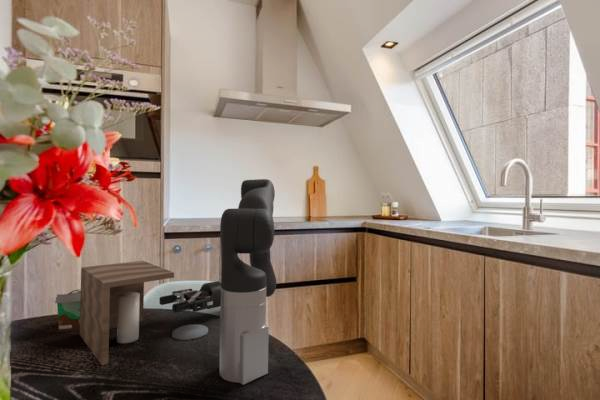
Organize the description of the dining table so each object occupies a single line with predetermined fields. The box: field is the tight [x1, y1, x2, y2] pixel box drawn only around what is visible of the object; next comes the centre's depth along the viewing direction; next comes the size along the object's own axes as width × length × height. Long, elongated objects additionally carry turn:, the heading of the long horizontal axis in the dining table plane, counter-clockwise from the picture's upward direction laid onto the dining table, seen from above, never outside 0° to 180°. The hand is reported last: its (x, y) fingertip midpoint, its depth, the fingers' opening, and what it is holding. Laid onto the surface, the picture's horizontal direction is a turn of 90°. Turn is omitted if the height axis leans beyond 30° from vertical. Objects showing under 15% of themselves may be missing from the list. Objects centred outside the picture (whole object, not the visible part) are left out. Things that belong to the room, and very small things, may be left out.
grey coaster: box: [171, 324, 209, 341], centre depth 83 cm, size 9×9×1 cm
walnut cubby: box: [79, 260, 175, 366], centre depth 79 cm, size 21×15×17 cm
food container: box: [54, 288, 81, 333], centre depth 87 cm, size 12×6×10 cm, turn 179°
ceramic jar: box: [116, 292, 140, 344], centre depth 79 cm, size 5×5×11 cm
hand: (166, 304), depth 86 cm, fingers open, 8 cm apart
